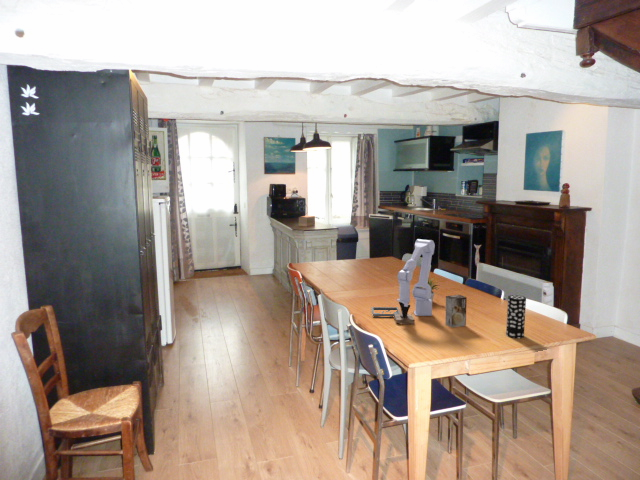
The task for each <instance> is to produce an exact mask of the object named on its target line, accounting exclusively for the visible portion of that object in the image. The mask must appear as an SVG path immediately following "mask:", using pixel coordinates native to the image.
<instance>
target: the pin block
mask: <svg viewBox="0 0 640 480" xmlns="http://www.w3.org/2000/svg"><path fill="white" fill-rule="evenodd" d="M394 318H395V319H394ZM393 319H394V322H395V321H396V322H395V324H396V323H402V324H401V325H415V323H416V322H415V318H414V316H413V314H410V313H408V314H407V318H402V313H401V314H394V317H393Z"/></svg>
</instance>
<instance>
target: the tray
mask: <svg viewBox="0 0 640 480" xmlns="http://www.w3.org/2000/svg"><path fill="white" fill-rule="evenodd" d="M370 307H371V308H370V309H371V310H372V311H371V315H372V314H373V316H394V314H402V313H401V310H400V309H399V307H398V306H395V307H394V306H370ZM374 310H388V311H386V312H389V311H390V310H397V311H396V312H394V313H393V314H383V313H384V311H383V312H382V314H380V313H374ZM390 313H391V312H390ZM373 316H372V317H373Z"/></svg>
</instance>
